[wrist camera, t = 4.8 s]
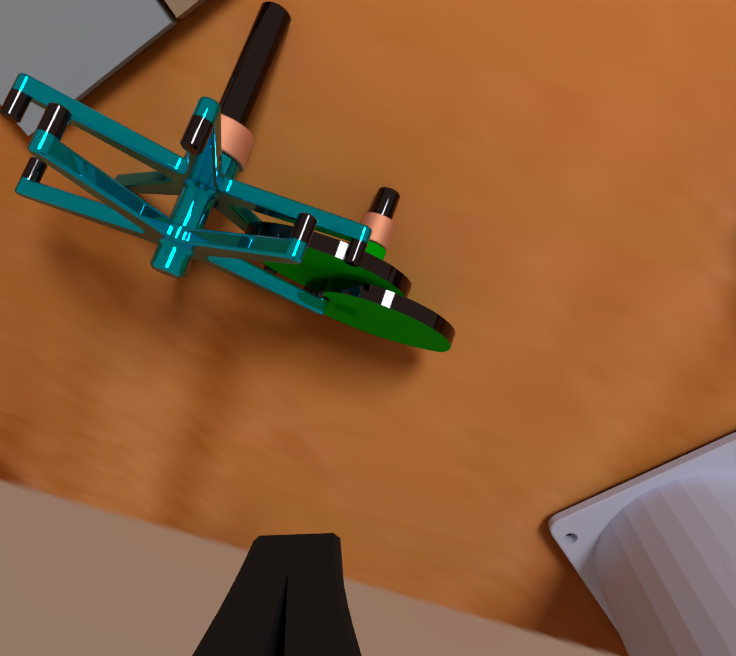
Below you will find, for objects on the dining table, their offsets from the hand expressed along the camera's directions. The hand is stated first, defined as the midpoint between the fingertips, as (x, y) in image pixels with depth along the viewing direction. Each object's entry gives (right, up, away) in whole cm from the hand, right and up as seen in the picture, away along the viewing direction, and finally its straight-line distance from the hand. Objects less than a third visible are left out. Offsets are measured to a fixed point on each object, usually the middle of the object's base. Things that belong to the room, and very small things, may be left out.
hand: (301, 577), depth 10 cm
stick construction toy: (-1, +8, +7) cm, 11 cm away
